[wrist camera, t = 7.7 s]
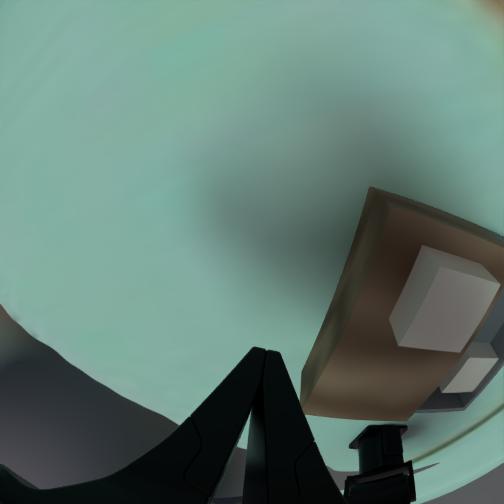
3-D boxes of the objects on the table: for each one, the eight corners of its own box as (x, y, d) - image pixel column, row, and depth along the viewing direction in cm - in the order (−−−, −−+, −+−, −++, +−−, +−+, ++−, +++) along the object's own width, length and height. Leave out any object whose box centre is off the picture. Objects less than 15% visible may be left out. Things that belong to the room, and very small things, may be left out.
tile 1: (447, 328, 15) (459, 352, 13) (388, 318, 15) (398, 345, 13) (480, 263, 13) (500, 284, 10) (422, 245, 13) (440, 266, 11)
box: (454, 385, 24) (463, 410, 20) (398, 383, 24) (404, 413, 21) (535, 252, 16) (557, 272, 12) (484, 227, 16) (511, 248, 13)
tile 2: (441, 392, 20) (435, 375, 22) (472, 391, 20) (465, 375, 22) (469, 357, 18) (460, 340, 20) (498, 358, 17) (489, 342, 20)
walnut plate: (398, 383, 24) (406, 420, 20) (301, 371, 25) (299, 413, 21) (484, 227, 16) (518, 254, 12) (369, 186, 17) (392, 206, 13)
